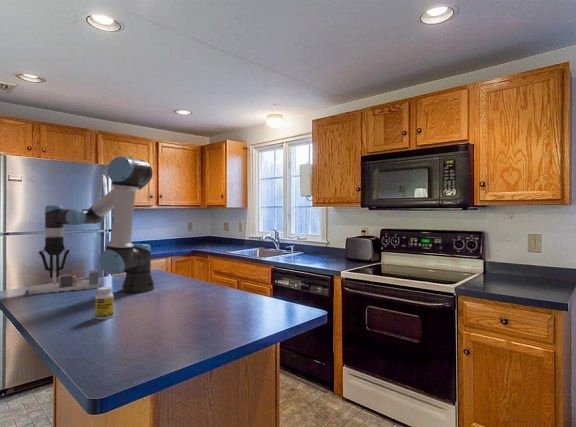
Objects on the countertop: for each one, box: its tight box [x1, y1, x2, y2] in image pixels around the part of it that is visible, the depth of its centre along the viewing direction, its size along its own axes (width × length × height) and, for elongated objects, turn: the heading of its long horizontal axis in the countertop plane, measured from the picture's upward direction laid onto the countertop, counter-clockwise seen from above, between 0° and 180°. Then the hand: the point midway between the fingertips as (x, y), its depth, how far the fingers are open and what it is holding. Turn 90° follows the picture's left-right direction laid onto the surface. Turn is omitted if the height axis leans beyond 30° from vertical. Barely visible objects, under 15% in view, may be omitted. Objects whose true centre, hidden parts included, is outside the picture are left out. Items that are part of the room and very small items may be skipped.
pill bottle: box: [94, 286, 115, 320], centre depth 133 cm, size 6×6×11 cm
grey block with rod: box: [58, 273, 89, 287], centre depth 181 cm, size 14×10×5 cm
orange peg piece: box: [72, 271, 77, 282], centre depth 184 cm, size 2×3×5 cm, turn 32°
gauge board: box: [27, 269, 102, 296], centre depth 179 cm, size 30×13×8 cm, turn 122°
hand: (54, 284), depth 174 cm, fingers closed
